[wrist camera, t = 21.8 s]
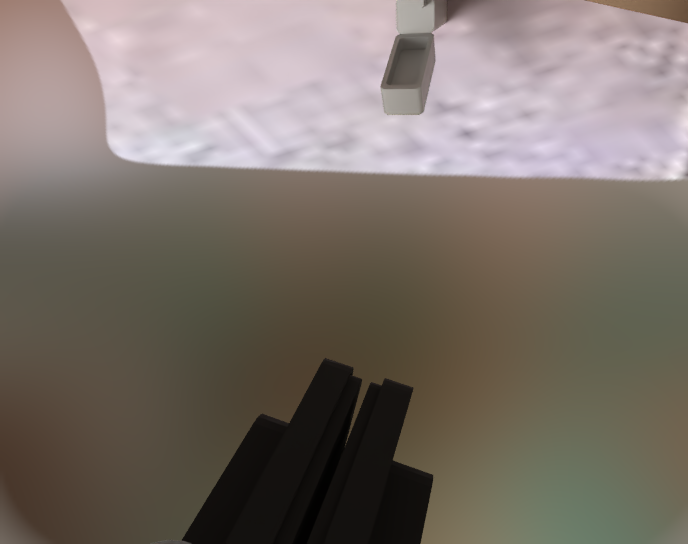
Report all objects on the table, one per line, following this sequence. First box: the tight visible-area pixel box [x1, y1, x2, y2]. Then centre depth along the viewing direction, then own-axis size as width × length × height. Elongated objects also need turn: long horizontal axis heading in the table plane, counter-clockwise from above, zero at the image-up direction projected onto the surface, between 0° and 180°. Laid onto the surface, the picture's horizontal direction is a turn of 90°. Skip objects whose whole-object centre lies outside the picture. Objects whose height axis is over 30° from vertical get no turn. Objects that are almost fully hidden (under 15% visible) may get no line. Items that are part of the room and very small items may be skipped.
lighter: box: [380, 0, 447, 115], centre depth 27 cm, size 7×2×8 cm, turn 4°
